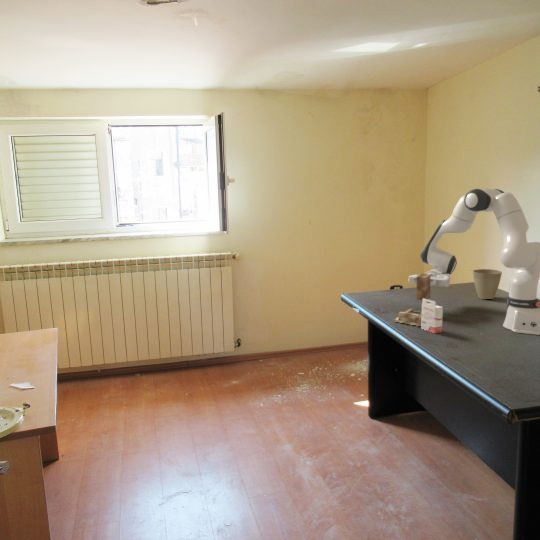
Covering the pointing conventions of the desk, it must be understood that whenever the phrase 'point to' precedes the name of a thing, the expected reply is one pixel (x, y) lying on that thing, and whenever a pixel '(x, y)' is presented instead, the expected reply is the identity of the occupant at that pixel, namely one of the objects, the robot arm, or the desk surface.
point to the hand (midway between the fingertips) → (423, 283)
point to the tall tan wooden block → (423, 287)
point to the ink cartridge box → (431, 316)
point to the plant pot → (486, 282)
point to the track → (409, 317)
